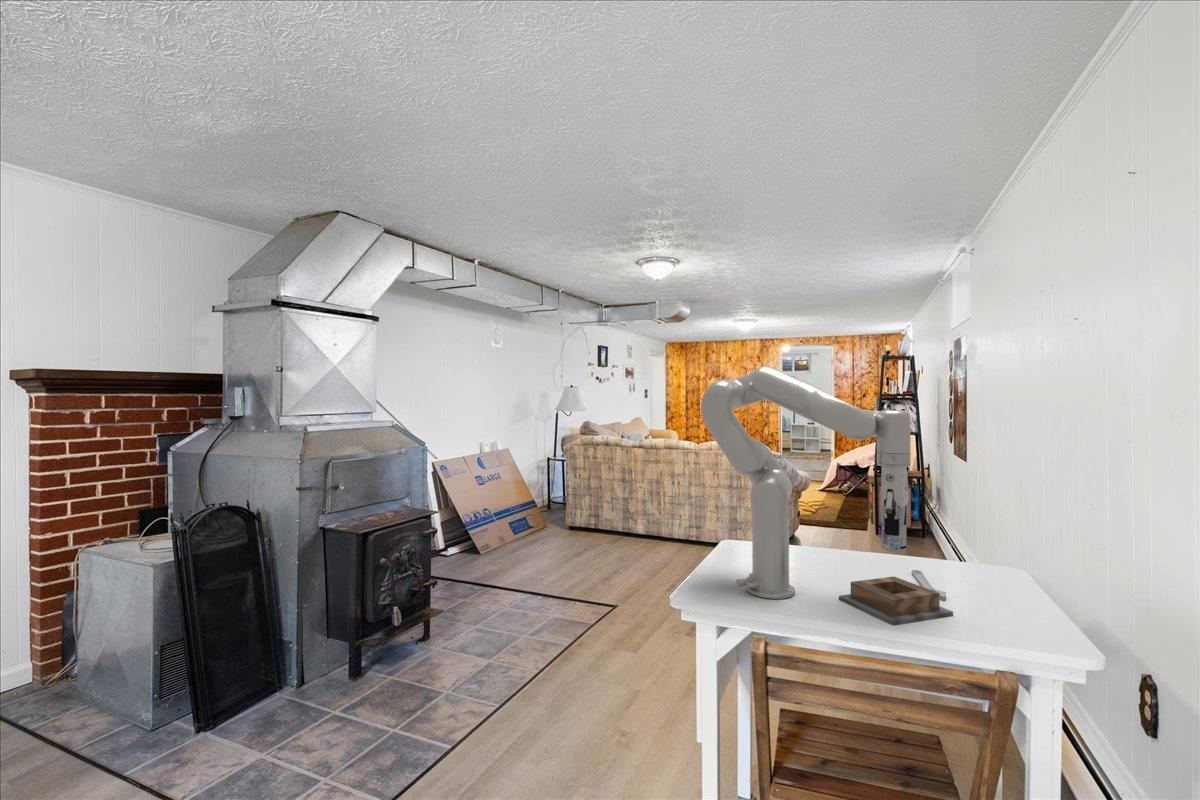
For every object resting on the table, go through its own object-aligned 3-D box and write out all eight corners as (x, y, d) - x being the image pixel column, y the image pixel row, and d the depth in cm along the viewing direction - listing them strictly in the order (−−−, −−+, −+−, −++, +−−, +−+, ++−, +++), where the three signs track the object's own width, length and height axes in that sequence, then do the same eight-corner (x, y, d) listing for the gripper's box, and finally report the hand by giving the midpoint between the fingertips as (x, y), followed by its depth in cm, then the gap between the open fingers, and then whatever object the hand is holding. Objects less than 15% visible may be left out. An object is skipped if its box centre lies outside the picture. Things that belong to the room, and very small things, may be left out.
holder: (893, 625, 136) (893, 603, 136) (838, 599, 153) (838, 580, 153) (953, 615, 141) (953, 594, 141) (894, 592, 159) (894, 573, 159)
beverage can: (911, 552, 144) (911, 491, 144) (889, 553, 144) (889, 491, 144) (898, 546, 150) (897, 487, 150) (876, 547, 150) (876, 488, 149)
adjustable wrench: (910, 574, 176) (910, 568, 176) (935, 577, 173) (935, 571, 173) (920, 601, 152) (920, 594, 152) (948, 604, 150) (948, 597, 150)
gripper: (905, 464, 138) (905, 541, 138) (915, 457, 152) (915, 528, 152) (870, 462, 142) (870, 537, 142) (883, 455, 156) (883, 524, 156)
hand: (893, 531), depth 147 cm, fingers closed on beverage can, 5 cm apart
